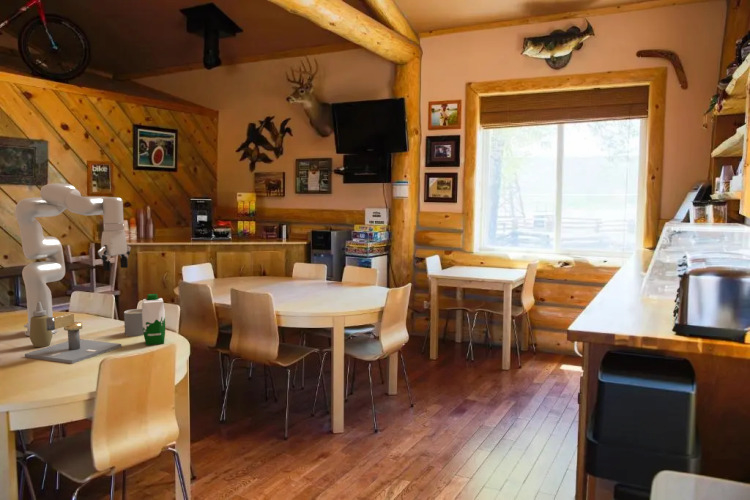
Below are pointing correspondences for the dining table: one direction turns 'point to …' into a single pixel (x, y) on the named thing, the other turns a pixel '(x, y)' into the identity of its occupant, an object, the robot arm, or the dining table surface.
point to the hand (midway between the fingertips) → (115, 269)
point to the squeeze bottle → (39, 328)
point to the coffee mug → (133, 322)
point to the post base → (72, 353)
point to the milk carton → (153, 319)
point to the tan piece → (63, 323)
